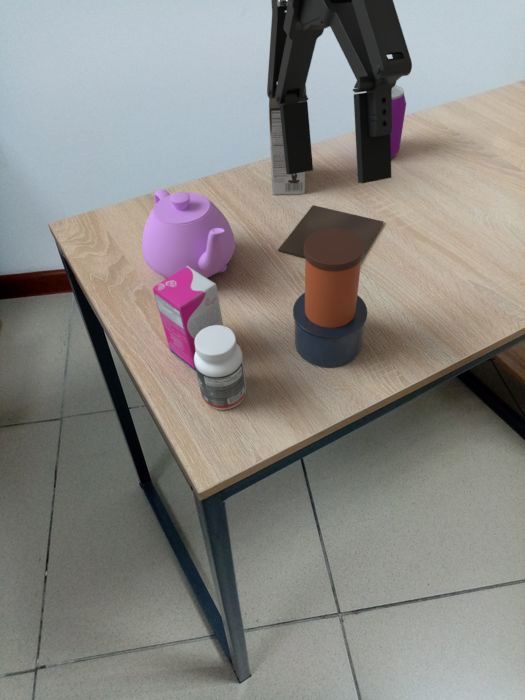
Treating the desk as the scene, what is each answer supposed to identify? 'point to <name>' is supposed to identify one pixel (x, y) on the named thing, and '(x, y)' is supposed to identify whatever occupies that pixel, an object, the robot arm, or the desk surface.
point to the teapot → (186, 235)
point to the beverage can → (397, 118)
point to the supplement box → (187, 310)
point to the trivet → (329, 219)
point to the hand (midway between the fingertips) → (332, 176)
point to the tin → (328, 337)
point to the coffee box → (282, 157)
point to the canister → (332, 276)
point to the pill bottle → (219, 367)
